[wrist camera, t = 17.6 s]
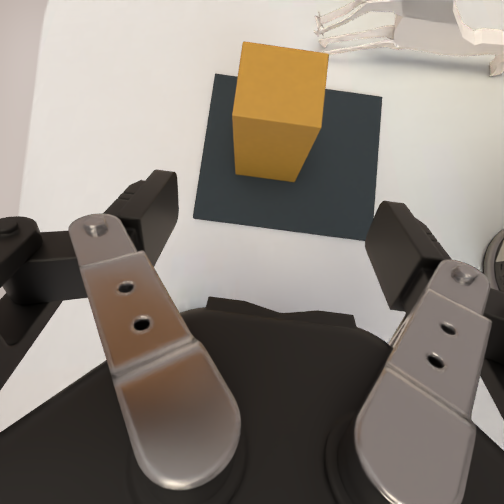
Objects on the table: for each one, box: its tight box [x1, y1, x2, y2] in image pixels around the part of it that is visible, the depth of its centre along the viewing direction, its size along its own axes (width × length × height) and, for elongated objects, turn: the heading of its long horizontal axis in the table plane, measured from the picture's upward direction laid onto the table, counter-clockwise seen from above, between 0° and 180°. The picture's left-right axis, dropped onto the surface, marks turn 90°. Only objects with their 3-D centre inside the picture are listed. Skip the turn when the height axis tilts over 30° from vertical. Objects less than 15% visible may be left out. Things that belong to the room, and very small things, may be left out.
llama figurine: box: [314, 0, 504, 77], centre depth 26 cm, size 2×11×18 cm
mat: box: [193, 74, 382, 241], centre depth 27 cm, size 16×14×1 cm
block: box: [232, 42, 329, 182], centre depth 22 cm, size 5×5×9 cm
